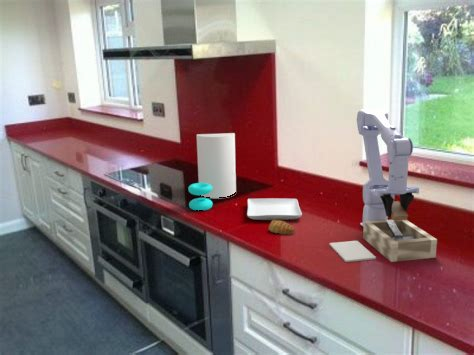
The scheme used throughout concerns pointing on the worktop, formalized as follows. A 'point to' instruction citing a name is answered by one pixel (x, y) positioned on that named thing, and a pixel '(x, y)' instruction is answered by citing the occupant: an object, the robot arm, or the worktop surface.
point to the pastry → (281, 227)
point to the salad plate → (273, 209)
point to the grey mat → (352, 251)
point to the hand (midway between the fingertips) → (395, 215)
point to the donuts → (200, 202)
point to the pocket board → (400, 241)
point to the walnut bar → (398, 212)
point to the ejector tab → (397, 232)
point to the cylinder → (217, 163)
